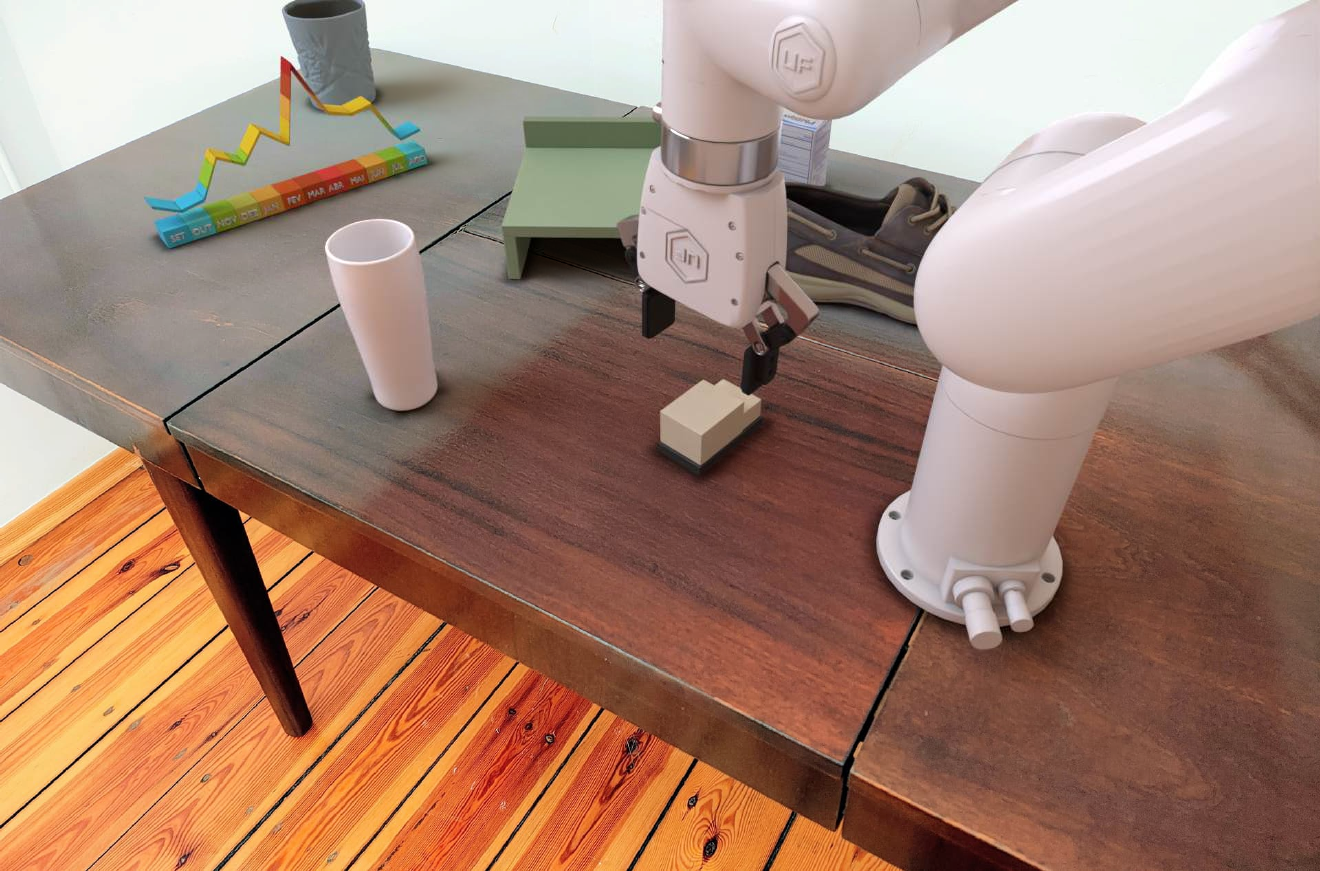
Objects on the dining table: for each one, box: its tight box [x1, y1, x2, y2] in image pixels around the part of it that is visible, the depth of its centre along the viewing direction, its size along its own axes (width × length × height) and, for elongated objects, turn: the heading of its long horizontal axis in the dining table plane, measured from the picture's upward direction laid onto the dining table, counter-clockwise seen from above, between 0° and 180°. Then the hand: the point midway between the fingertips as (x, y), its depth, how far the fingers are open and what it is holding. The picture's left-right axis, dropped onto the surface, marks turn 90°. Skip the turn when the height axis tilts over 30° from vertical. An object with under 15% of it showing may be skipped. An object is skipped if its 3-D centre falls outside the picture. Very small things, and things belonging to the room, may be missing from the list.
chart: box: [143, 55, 428, 249], centre depth 101 cm, size 30×3×15 cm, turn 129°
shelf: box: [501, 116, 661, 280], centre depth 96 cm, size 18×16×9 cm
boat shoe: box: [785, 176, 958, 326], centre depth 87 cm, size 11×29×11 cm, turn 78°
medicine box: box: [777, 108, 833, 186], centre depth 104 cm, size 8×4×9 cm, turn 58°
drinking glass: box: [324, 218, 439, 412], centre depth 75 cm, size 7×7×15 cm
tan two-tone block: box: [657, 378, 764, 477], centre depth 74 cm, size 8×4×4 cm, turn 138°
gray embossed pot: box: [281, 0, 377, 111], centre depth 122 cm, size 10×10×12 cm
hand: (706, 356), depth 71 cm, fingers open, 9 cm apart
